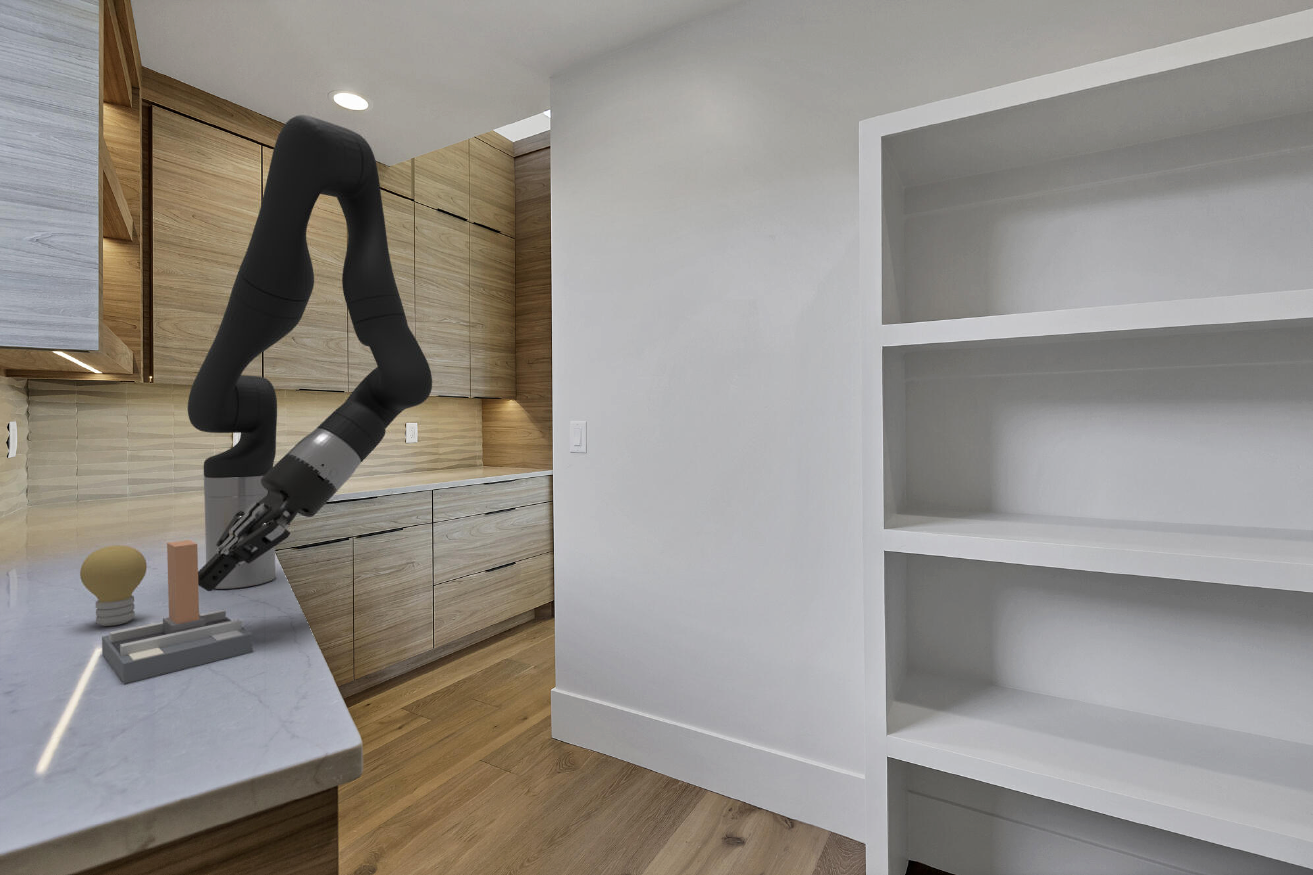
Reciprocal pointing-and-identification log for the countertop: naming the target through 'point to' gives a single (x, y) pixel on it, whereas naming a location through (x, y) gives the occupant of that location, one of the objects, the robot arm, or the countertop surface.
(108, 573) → the light bulb
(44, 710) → the countertop surface
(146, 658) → the switch panel
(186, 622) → the lever
